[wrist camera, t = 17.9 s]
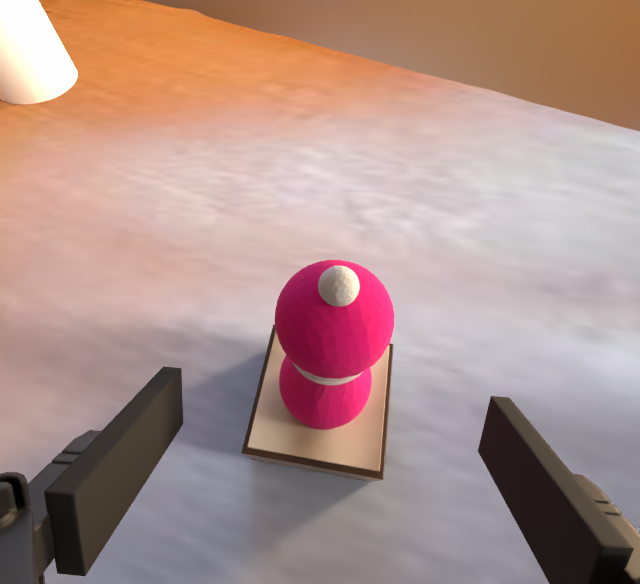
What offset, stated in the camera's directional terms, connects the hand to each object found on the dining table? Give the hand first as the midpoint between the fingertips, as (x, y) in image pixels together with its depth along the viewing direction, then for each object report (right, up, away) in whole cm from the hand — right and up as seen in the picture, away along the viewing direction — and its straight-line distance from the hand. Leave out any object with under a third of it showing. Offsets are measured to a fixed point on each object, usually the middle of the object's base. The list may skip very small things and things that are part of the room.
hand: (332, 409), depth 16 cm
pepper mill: (0, -4, +17) cm, 18 cm away
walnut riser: (0, -7, +23) cm, 24 cm away
